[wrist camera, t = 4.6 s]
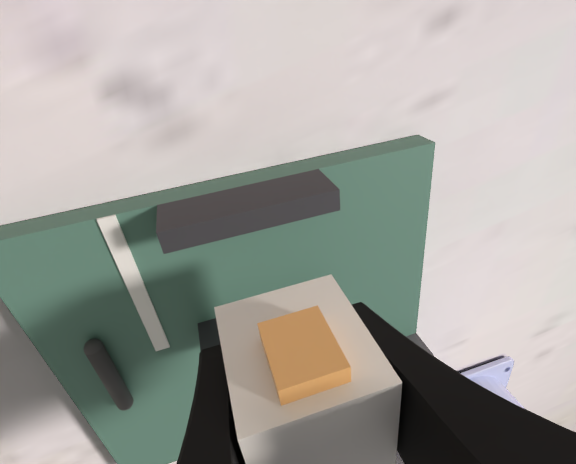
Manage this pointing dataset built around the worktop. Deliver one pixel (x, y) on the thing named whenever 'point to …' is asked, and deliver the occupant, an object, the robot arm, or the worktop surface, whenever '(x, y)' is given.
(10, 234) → the board
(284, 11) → the worktop surface
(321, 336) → the plug
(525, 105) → the worktop surface
